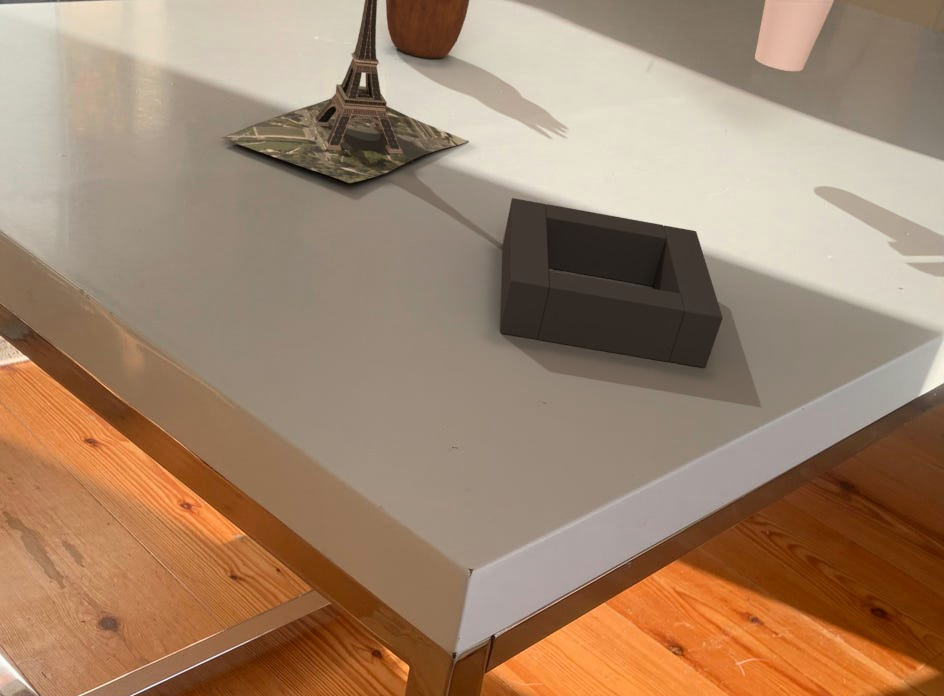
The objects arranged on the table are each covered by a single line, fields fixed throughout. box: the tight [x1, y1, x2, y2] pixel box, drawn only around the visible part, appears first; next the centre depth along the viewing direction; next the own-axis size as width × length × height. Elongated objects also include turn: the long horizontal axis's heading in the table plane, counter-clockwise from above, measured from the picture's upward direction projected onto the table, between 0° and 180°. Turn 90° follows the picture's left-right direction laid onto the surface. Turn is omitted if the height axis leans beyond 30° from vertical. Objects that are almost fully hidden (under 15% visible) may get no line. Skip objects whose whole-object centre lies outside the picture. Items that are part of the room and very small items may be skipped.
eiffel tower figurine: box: [220, 0, 470, 184], centre depth 72 cm, size 15×10×13 cm
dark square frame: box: [499, 197, 724, 369], centre depth 62 cm, size 11×11×3 cm
